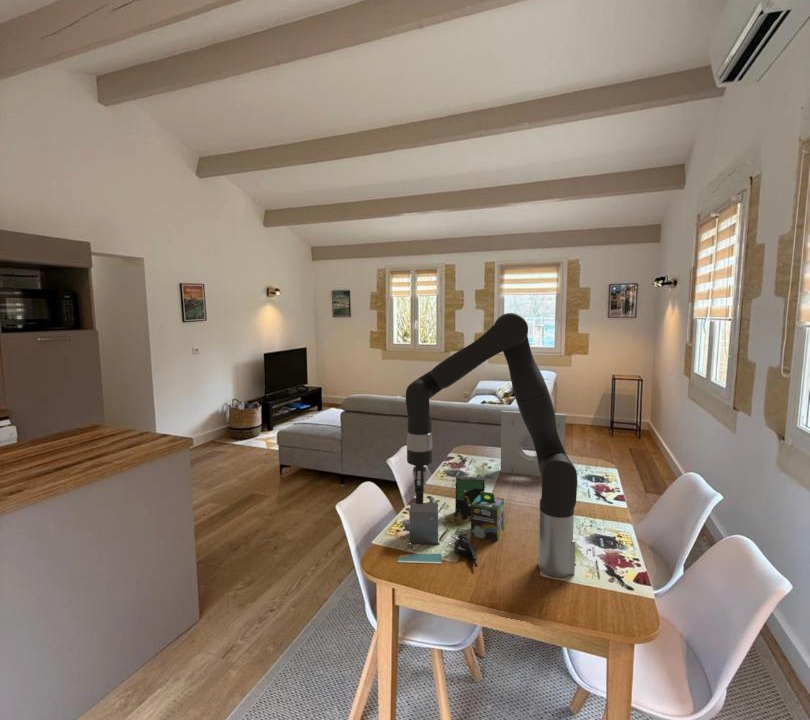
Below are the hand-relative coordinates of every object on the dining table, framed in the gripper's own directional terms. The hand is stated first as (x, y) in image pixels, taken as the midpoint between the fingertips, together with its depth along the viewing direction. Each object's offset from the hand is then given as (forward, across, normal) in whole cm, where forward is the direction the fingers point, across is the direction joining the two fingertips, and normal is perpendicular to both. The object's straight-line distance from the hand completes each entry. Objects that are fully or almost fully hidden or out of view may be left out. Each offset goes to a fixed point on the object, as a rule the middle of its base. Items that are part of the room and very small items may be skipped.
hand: (419, 503), depth 131 cm
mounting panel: (+17, +64, -47) cm, 82 cm away
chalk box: (+17, +14, -22) cm, 31 cm away
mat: (+17, 0, 0) cm, 17 cm away
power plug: (+14, -8, -14) cm, 21 cm away
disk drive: (+17, +26, -17) cm, 36 cm away
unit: (+17, +10, -1) cm, 19 cm away
